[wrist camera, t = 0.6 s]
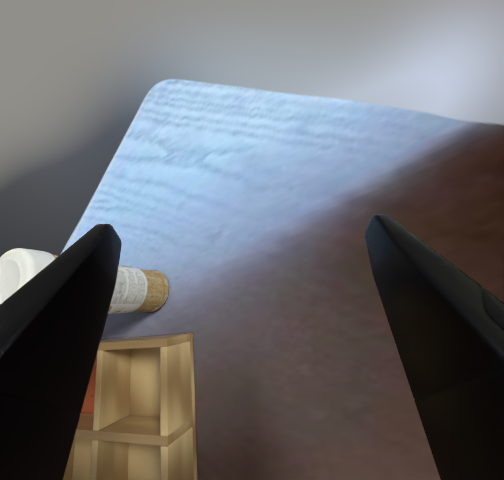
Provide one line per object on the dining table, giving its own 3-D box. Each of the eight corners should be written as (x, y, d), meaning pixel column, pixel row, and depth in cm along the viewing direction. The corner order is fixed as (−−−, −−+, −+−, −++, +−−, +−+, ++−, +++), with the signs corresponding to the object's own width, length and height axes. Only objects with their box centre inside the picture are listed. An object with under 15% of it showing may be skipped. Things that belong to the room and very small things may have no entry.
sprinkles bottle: (133, 307, 29) (-28, 312, 17) (143, 267, 30) (-5, 243, 17) (166, 316, 27) (13, 329, 15) (175, 273, 28) (37, 251, 16)
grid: (199, 522, 22) (168, 567, 18) (70, 498, 26) (25, 529, 23) (193, 332, 26) (166, 338, 22) (82, 341, 30) (45, 346, 27)
